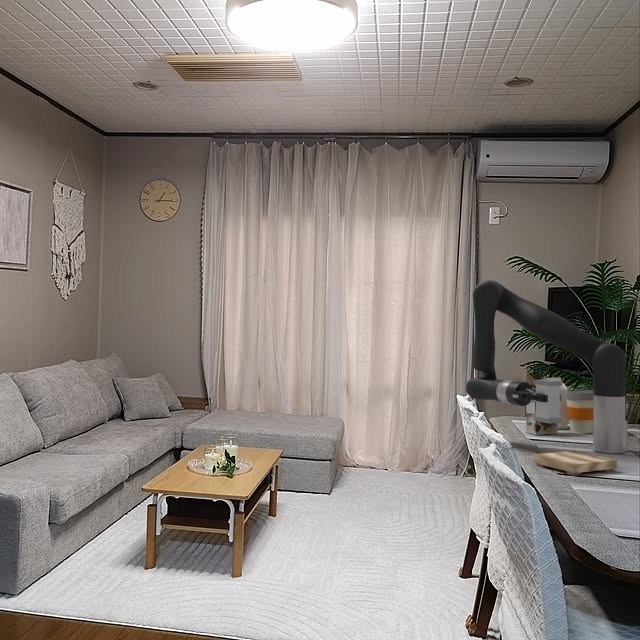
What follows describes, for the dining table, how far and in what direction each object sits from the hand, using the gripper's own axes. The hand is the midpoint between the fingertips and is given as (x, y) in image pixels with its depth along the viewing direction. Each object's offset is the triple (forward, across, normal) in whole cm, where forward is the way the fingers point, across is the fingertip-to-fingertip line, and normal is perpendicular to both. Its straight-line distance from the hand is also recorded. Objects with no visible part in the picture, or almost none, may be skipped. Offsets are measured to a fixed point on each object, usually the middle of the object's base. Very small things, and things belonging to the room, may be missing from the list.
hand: (553, 398), depth 200 cm
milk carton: (-47, +44, +18) cm, 67 cm away
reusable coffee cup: (-35, +47, +18) cm, 61 cm away
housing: (-2, 0, +7) cm, 7 cm away
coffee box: (-38, +30, +18) cm, 52 cm away
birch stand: (+12, -4, +18) cm, 22 cm away
